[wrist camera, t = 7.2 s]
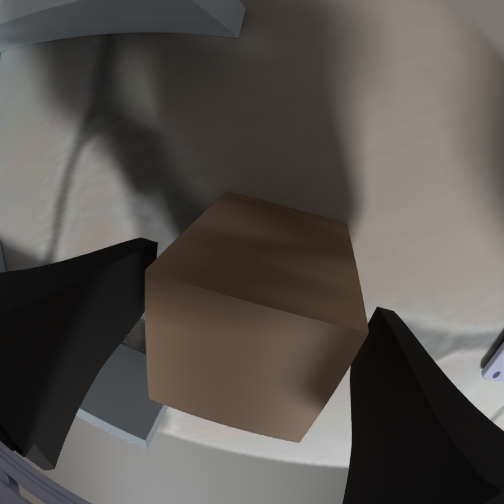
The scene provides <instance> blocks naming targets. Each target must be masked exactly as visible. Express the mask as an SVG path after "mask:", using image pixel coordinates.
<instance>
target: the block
mask: <svg viewBox="0 0 504 504" xmlns="http://www.w3.org/2000/svg"><path fill="white" fill-rule="evenodd" d="M368 333H369V330H368V324H367V318H366V313H365V307H364V302H363V296H362V291H361V286H360V281H359V276H358V271H357V267H356V262H355V257H354V253H353V248H352V244H351V240H350V236H349V231H348V227H347V224H345V223H341V222H338V221H334V220H331V219H327V218H324V217H320V216H317V215H313V214H310V213H306V212H302V211H299V210H295V209H291V208H288V207H284V206H280V205H276V204H273V203H269V202H265V201H261V200H257V199H253V198H249V197H245V196H241V195H237V194H233V193H229V192H225V193H224V194H223V195H222V196H221V197H220V198H218V199H217V200H216V201H215V202H214V203H213V204H212V205H211V206H210V207H209V208H208V209H207V210H206V211H205V212H204V213H203V214H201V215H200V216H199V217H198V218H197V219H196V220H195V221H194V222H193V223H192V224H191V225H190V226H189V227H188V228H187V229H186V230H185V231H184V232H183V233H182V234H181V235H180V236H179V237H178V238H177V239H176V240H175V241H174V242H173V243H172V244H171V245H170V246H169V247H168V248H167V249H166V250H165V251H164V252H163V253H162V254H161V255H160V256H159V257H158V258H157V259H156V260H155V261H154V262H153V263H152V264H151V265H150V266H149V267H148V268H147V269H146V270H145V336H146V361H147V378H148V392H149V399H151V400H153V401H156V402H158V403H161V404H164V405H166V406H169V407H172V408H174V409H177V410H180V411H183V412H186V413H188V414H191V415H194V416H197V417H200V418H203V419H207V420H210V421H213V422H216V423H220V424H223V425H226V426H230V427H233V428H237V429H241V430H245V431H248V432H252V433H256V434H260V435H265V436H269V437H273V438H278V439H282V440H287V441H292V442H297V443H299V442H300V441H301V440H302V438H303V437H304V435H305V434H306V433H307V431H308V430H309V428H310V427H311V426H312V424H313V423H314V421H315V420H316V418H317V417H318V416H319V414H320V413H321V411H322V410H323V408H324V407H325V405H326V404H327V402H328V401H329V399H330V397H331V396H332V394H333V393H334V391H335V390H336V388H337V386H338V385H339V383H340V382H341V380H342V378H343V377H344V375H345V374H346V372H347V370H348V369H349V367H350V365H351V363H352V362H353V360H354V358H355V357H356V355H357V353H358V351H359V350H360V348H361V346H362V344H363V343H364V341H365V339H366V337H367V335H368Z"/></svg>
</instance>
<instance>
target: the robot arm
mask: <svg viewBox="0 0 504 504" xmlns="http://www.w3.org/2000/svg"><path fill="white" fill-rule="evenodd" d="M157 247H158V243H157V242H154V241H151V240H148V239H144V238H137V239H133V240H129V241H126V242H122V243H119V244H116V245H113V246H110V247H107V248H104V249H100V250H97V251H94V252H91V253H88V254H85V255H81V256H78V257H74V258H71V259H68V260H64V261H61V262H57V263H53V264H49V265H45V266H40V267H35V268H30V269H24V270H16V271H9V272H1V273H0V504H32V503H31V502H29V501H28V500H27V499H25V498H24V497H22V496H21V494H20V492H19V486H18V484H20V485H21V486H22V487H24V488H25V489H26V490H27V491H29V492H30V493H32V494H33V495H34V496H36V497H37V498H39V499H40V500H41V501H43V502H44V503H46V504H91V503H89V502H87V501H86V500H84V499H82V498H80V497H78V496H77V495H75V494H73V493H72V492H70V491H68V490H67V489H65V488H63V487H62V486H60V485H59V484H57V483H56V482H54V481H53V480H51V479H49V478H48V477H47V476H45V475H44V474H42V473H40V472H39V471H38V470H36V469H35V468H34V467H32V466H31V465H30V464H28V463H27V462H26V461H24V460H23V459H21V458H20V457H19V456H18V455H17V454H15V453H14V452H13V451H14V450H15V451H16V452H17V453H19V454H20V455H21V456H23V457H26V458H28V459H29V460H30V461H32V462H33V463H35V464H36V465H37V466H39V467H40V468H42V469H43V470H52V469H55V466H56V463H57V460H58V457H59V455H60V452H61V449H62V446H63V444H64V441H65V439H66V436H67V434H68V431H69V429H70V427H71V425H72V423H73V420H74V418H75V416H76V414H77V412H78V410H79V408H80V406H81V404H82V402H83V400H84V398H85V396H86V394H87V392H88V391H89V389H90V387H91V385H92V383H93V382H94V380H95V378H96V376H97V375H98V373H99V371H100V370H101V368H102V367H103V366H104V364H105V363H106V361H107V360H108V359H109V357H110V356H111V355H112V354H113V352H114V351H115V350H116V348H117V347H118V346H119V345H120V343H121V342H122V341H123V339H124V338H125V337H126V336H127V334H128V333H129V332H130V331H131V329H132V328H133V327H134V325H135V324H136V323H137V322H138V320H139V319H140V318H141V316H142V315H143V313H144V311H145V270H146V269H147V268H148V267H149V266H150V265H151V264H152V263H153V262H154V261H155V260H156V259H157ZM368 330H369V333H368V335H367V337H366V339H365V341H364V343H363V344H362V346H361V348H360V350H359V351H358V353H357V355H356V357H355V358H354V360H353V362H352V363H351V369H350V395H351V420H352V447H351V457H350V465H349V473H348V478H347V484H346V489H345V494H344V499H343V503H342V504H504V431H503V430H502V429H500V428H499V427H498V426H497V425H495V424H494V423H493V422H492V421H491V420H489V419H488V418H487V417H486V416H485V415H484V414H483V413H482V412H481V411H479V410H478V409H477V408H476V407H475V406H474V405H473V404H472V403H471V402H470V401H469V400H468V399H467V398H466V397H465V396H464V395H463V394H462V393H461V392H460V391H459V390H458V389H457V388H456V386H455V385H454V384H453V383H452V382H451V381H450V380H449V379H448V377H447V376H446V375H445V374H444V372H443V371H442V370H441V369H440V368H439V366H438V365H437V364H436V363H435V362H434V360H433V359H432V358H431V357H430V355H429V354H428V353H427V351H426V350H425V349H424V347H423V346H422V345H421V344H420V342H419V341H418V340H417V338H416V337H415V336H414V334H413V333H412V332H411V331H410V329H409V328H408V327H407V326H406V324H405V323H404V322H403V321H402V319H401V318H400V317H399V316H398V315H397V314H396V313H395V312H394V311H391V310H388V309H384V308H380V307H377V308H376V310H375V312H374V314H373V315H372V317H371V319H370V321H369V323H368ZM481 374H482V376H483V378H484V379H485V380H491V381H499V382H504V342H503V343H502V345H501V346H500V347H499V349H498V350H497V351H496V353H495V354H494V355H493V357H492V358H491V359H490V361H489V362H488V363H487V365H486V366H485V367H484V369H483V370H482V373H481ZM17 483H18V484H17Z"/></svg>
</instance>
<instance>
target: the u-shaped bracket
mask: <svg viewBox="0 0 504 504" xmlns="http://www.w3.org/2000/svg"><path fill="white" fill-rule="evenodd" d="M245 11H246V8H245V7H244V5H243V4H242V3H241V1H240V0H0V55H1V52H2V51H6V50H10V49H14V48H18V47H22V46H27V45H31V44H36V43H41V42H47V41H52V40H59V39H65V38H73V37H81V36H90V35H101V34H115V33H141V32H161V33H189V34H203V35H214V36H224V37H232V38H239V34H240V30H241V26H242V23H243V19H244V15H245ZM1 272H6V268H5V264H4V259H3V254H2V248H1V242H0V273H1ZM167 408H168V406H166V405H164V404H161V403H158V402H156V401H153V400H151V399H149V392H148V378H147V361H146V354H144V353H142V352H139V351H137V350H135V349H132V348H130V347H128V346H125V345H123V344H121V343H120V345H119V346H118V347H117V348H116V350H115V351H114V352H113V354H112V355H111V356H110V357H109V359H108V360H107V361H106V363H105V364H104V366H103V367H102V368H101V370H100V371H99V373H98V375H97V376H96V378H95V380H94V382H93V383H92V385H91V387H90V389H89V391H88V392H87V394H86V396H85V398H84V400H83V402H82V404H81V406H80V408H79V410H78V412H77V414H76V415H77V416H78V417H80V418H82V419H84V420H85V421H87V422H89V423H91V424H93V425H95V426H96V427H98V428H100V429H102V430H104V431H107V432H108V433H110V434H112V435H114V436H116V437H118V438H120V439H123V440H125V441H127V442H129V443H131V444H133V445H136V446H138V447H141V448H143V449H145V450H147V449H148V447H149V445H150V443H151V441H152V438H153V436H154V434H155V432H156V430H157V428H158V426H159V424H160V422H161V420H162V418H163V416H164V414H165V412H166V410H167Z"/></svg>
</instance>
